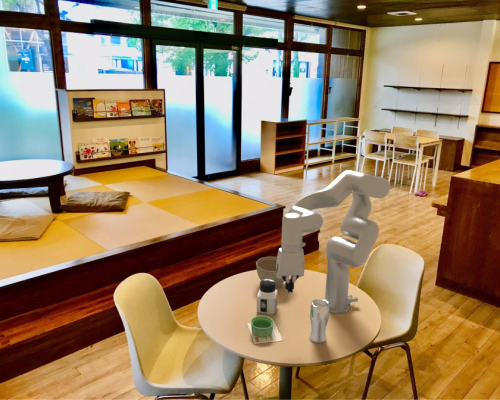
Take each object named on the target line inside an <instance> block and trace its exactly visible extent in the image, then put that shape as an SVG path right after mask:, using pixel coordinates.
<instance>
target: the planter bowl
mask: <svg viewBox="0 0 500 400" xmlns="http://www.w3.org/2000/svg"><path fill="white" fill-rule="evenodd" d="M276 263H277V256H265V257H261V258H258V260H257V261H256V262H255V267H256V273H257V276H258V278H259V280H260V282H261V281H262V280H265V279H270V280H273V281H274V282H275V289H278V288H279V289H280V288H281V287H282V286H283V284H284V283H285V281H284V280H283V279H280V278H277V277H276V274H277V271H276Z"/></svg>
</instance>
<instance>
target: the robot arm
mask: <svg viewBox="0 0 500 400" xmlns="http://www.w3.org/2000/svg"><path fill="white" fill-rule="evenodd" d="M390 191H391V182H390V181H389V180H388V179H387V178H385V177H382V176H376V175H372V174H369V173H365V172H362V171H361V172H360V171H357V170H353V169H352V170H351V169H346V170H344V171H342V172H341V173H340V174H338V176H336V177H335V179H333V180H332V181H331V182H329V184H328V185H327V186H326V187H325V188H324V189H321V190H317V191H315V192H312V193H310V194H307V195H305V196H303V197H301V198H300V199H298V200H297V201H296V202H295V203H294V204H293V205H292V206H291V207H290V209H289V210H288V212H287V213H285V214H284V215H283V216H282V221H281V222H282V225H281V245H280V248H278V252H277V256H276V257H277V263H276V271H277V274H276V277H277V278H280V279H283V280H284V283H285V285H284V286H285V287H284V288H285V290H286V291H287V292H288V294H289V293H293V291H294V289H295V283H296V281H297V280H298V279H299V278H302V277H304V276H305V254H304V252H305V251H304V249H303V247H305V246H306V242H304V241H303V234H305V233H314V232H317V231H318V230H320V229H321V228H322V227H323V225H324V219H323V217H322V215H321V214H319V213H318V212H316V211H314V210H317V209H325V208H326V209H328V208H335V207H338V206H340V205H341V204H342V203H343V202H344V201H345V200H346V199H347V198H348V197H349V196H350V195H351V194H352V200H351V203H350V206H349V208H348V210H347V212H346V215H345V216H344V218H343V220H342V222H341V223H340V232H341V233H342V235H345V236H347V237H348V238H350V239H348V238H345V237H343V236H338V235H337V236H336V235H335V236H331V237H330V238H329V239H328V240H327V242H326V246H325V253H326V261H327V262H326V263H327V264H326V265H327V266H326V280H325V292H324V298H321V299H322V300H325V301H327V302H328V303H329V313H334V314H344V313H346V312H349V310H351V303H357V302H359V299H358V297H357V296H355V297H354V296H353V295H352V294H351V295H349V284H350V275H351V269H350V268H351V267H353V268H360V267H362V266H363V265H365V263H366V261H367V259H368V258H369V256H370V253H371V251H372V250H373V247H374V246H375V244H376V242H377V240H378V237H379V233H380V227H379V225H378V224H377V222H375V221H374V220H371V219H369V216H370V213H371V212H372V202H371V198H375V199H384V198H386V197H387V196H388V195H389V194H390ZM351 239H354V240H357V242H356V241H354V240H351Z"/></svg>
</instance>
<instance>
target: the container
mask: <svg viewBox="0 0 500 400" xmlns="http://www.w3.org/2000/svg"><path fill="white" fill-rule="evenodd" d="M278 292H279V291H278V289H276V288H275V282H274V281H273V280H270V279H265V280H262V281H261V280H260V282H259V290H258V292H257V295H256V313H259V314H268V315H275V314H276V310H277V307H278Z"/></svg>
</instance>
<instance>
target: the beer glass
mask: <svg viewBox="0 0 500 400" xmlns="http://www.w3.org/2000/svg"><path fill="white" fill-rule="evenodd" d="M322 299H323V298H321V299H320V298H317V299H312V301H311V303H310V304H311V305H310V312H309V319H310V329H311V330H310V331H311V332H310V334H309V340H310V341H312V342H313V343H316V344H323V343H325V342H326V340H327V336H326V330H327V327H328V321H329V317H330V312H329V303H328V302H327V301H325V300H322Z"/></svg>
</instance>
